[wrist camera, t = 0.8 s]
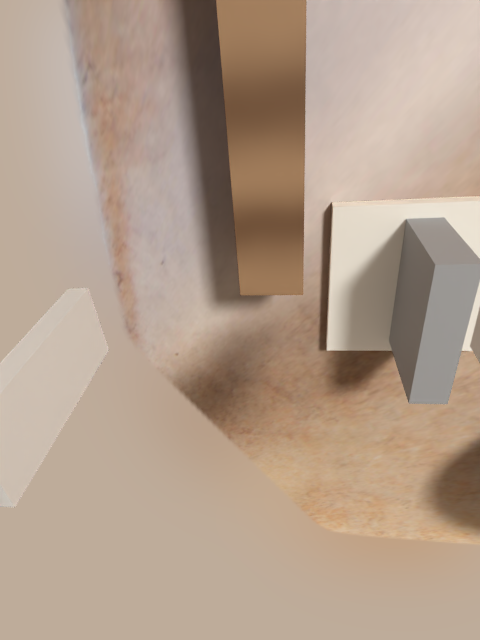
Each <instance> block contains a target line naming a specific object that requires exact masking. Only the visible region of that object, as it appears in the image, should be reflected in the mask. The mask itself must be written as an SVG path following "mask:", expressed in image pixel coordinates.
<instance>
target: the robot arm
mask: <svg viewBox="0 0 480 640" xmlns="http://www.w3.org/2000/svg"><path fill="white" fill-rule="evenodd" d="M470 347H471V349H472V350H473V352H474V354H475V356H476V357H477V359H478V361H479V363H480V308H479V312H478V316H477V320H476V324H475V328H474V332H473V336H472V340H471V344H470ZM108 351H109V348H108V346H107V342H106V339H105V336H104V333H103V330H102V327H101V324H100V321H99V318H98V315H97V312H96V309H95V306H94V303H93V300H92V297H91V294H90V291H89V288H70V289H67V290H66V292H65V293H64V294H63V295H62V296H61V297H60V298H59V299H58V300H57V301H56V303H55V304H54V305H53V306H52V307H51V308H50V309H49V310H48V311H47V312H46V314H45V315H44V316H43V317H42V318H41V319H40V320H39V321H38V322H37V323H36V324H35V325H34V327H33V328H32V329H31V330H30V331H29V332H28V333H27V334H26V335H25V336H24V337H23V339H22V340H21V341H20V342H19V343H18V344H17V345H16V346H15V347H14V348H13V350H12V351H11V352H10V353H9V354H8V355H7V356H6V357H5V358H4V359H3V360H2V362H1V363H0V507H15V506H16V505H17V503H18V501H19V500H20V498H21V496H22V495H23V493H24V491H25V490H26V488H27V486H28V485H29V483H30V481H31V480H32V478H33V476H34V475H35V473H36V471H37V470H38V468H39V466H40V465H41V463H42V461H43V460H44V458H45V456H46V455H47V453H48V451H49V449H50V448H51V446H52V445H53V443H54V441H55V440H56V438H57V436H58V434H59V433H60V431H61V430H62V428H63V426H64V425H65V423H66V421H67V420H68V418H69V416H70V414H71V413H72V411H73V410H74V408H75V406H76V404H77V403H78V401H79V399H80V398H81V396H82V394H83V393H84V391H85V389H86V388H87V386H88V384H89V382H90V381H91V379H92V378H93V376H94V374H95V373H96V371H97V369H98V368H99V366H100V364H101V363H102V361H103V359H104V358H105V356H106V354H107V353H108Z"/></svg>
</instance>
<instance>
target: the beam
mask: <svg viewBox="0 0 480 640" xmlns="http://www.w3.org/2000/svg"><path fill="white" fill-rule="evenodd" d="M216 6H217V18H218V30H219V42H220V55H221V67H222V79H223V91H224V103H225V115H226V128H227V140H228V152H229V164H230V176H231V188H232V201H233V213H234V225H235V237H236V249H237V261H238V274H239V286H240V295H303V257H304V166H305V74H306V0H216Z"/></svg>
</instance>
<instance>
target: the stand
mask: <svg viewBox="0 0 480 640" xmlns="http://www.w3.org/2000/svg"><path fill="white" fill-rule="evenodd" d="M479 308H480V196H468V197H445V198H421V199H397V200H374V201H350V202H332V213H331V237H330V261H329V285H328V309H327V333H326V347H327V350H333V351H392V352H393V355H394V358H395V361H396V365H397V368H398V371H399V374H400V377H401V380H402V383H403V387H404V390H405V393H406V396H407V399H408V402H409V403H412V404H448V400H449V397H450V393H451V389H452V385H453V381H454V377H455V374H456V370H457V366H458V362H459V358H460V355H461V351H473V350H472V349H471V347H470V344H471V340H472V336H473V332H474V328H475V324H476V320H477V316H478V312H479Z"/></svg>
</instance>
